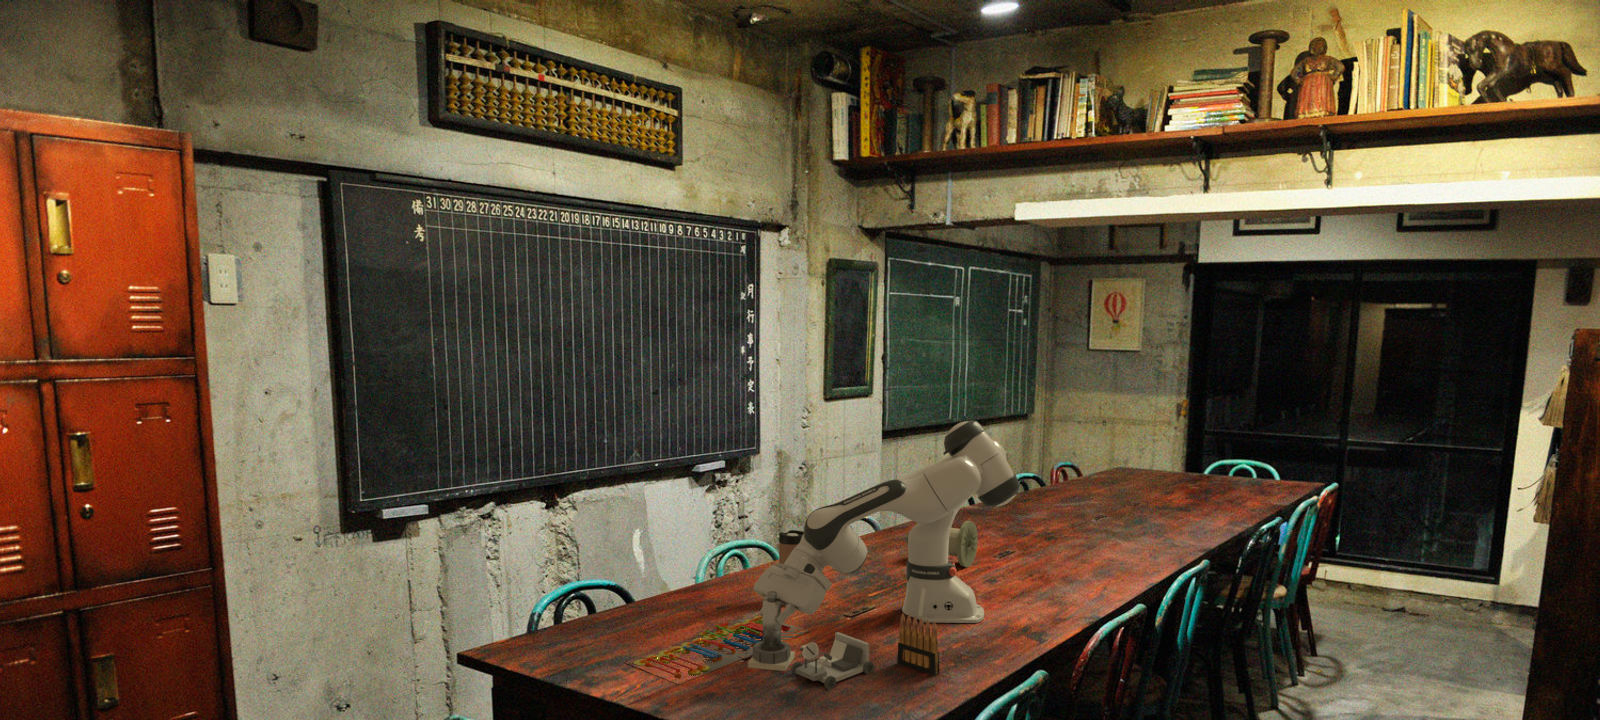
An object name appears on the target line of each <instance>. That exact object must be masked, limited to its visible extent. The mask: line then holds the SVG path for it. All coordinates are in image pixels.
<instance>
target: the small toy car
mask: <svg viewBox="0 0 1600 720" xmlns="http://www.w3.org/2000/svg"><path fill="white" fill-rule="evenodd" d="M834 636H835V637H834V641H833V644H832V647H831V650H830V653H826V652H825V653H824V655H823V656H820V657H819V658H818V656H819V654H820V653H819V646H818V644H817V643H816V642H814V641H811V642H808V643H806V644H803V645H801V646H800V648H799V651H800V652H801V653H802V657H803V658H804V665H803V664H802V663H801V662H799V661H794V663H793V664H792V666H791V668H790V670H791V671H790V672H791V674H792V675H793V676H796V675H799V676H801V677H804V678H806V679H808V680H811V681H813V682H816V681H818V682H820V683H822V684H823V685H824V688H825V690H828V691H829V690H831V689H834V688H835V687H836V686H837V682H840V681H843V680H845V679H847V678H851V677H852V676H855V675H858V674H861V673H863V674H865V675H869V674H871V673H873V672H874V670H875V664H874V662H872V661H871V660H870V643H869V642H866V641H863V640H860V639H858V638H856V637H853V636H850V635H848V634H844V633H842V632H839V631H837V632H835V633H834ZM808 660H814V661H811V662H808Z"/></svg>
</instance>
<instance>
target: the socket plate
mask: <svg viewBox="0 0 1600 720" xmlns="http://www.w3.org/2000/svg"><path fill="white" fill-rule="evenodd" d="M795 654H796V653H795V651H792V650H791V645H790V643H787V642H786V641H781V645H779V646H765V645H764V644H763V641H761V642H758V643H756V644H755V645H754V646H753V654H752V655H751V656H752V657H751V658H750V659H749V660H748V661H747V668H749V669H760V670H768V671H769V670H772V671H782V672H786V671H787V670H788V669H789V666H790V665H791V663H792V661H793V660H794V658H795V656H796V655H795Z"/></svg>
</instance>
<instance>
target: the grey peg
mask: <svg viewBox="0 0 1600 720" xmlns="http://www.w3.org/2000/svg"><path fill="white" fill-rule="evenodd" d="M762 607H763V644H764V645H765V646H779V645H781V624H780V623H778V622H777V621H775V617H776V616H777V614H778V613H780V614H781V612H782V604H781V600H779V599H777V592H775V591H769V592H767V599H764V598H763V600H762Z"/></svg>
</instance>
